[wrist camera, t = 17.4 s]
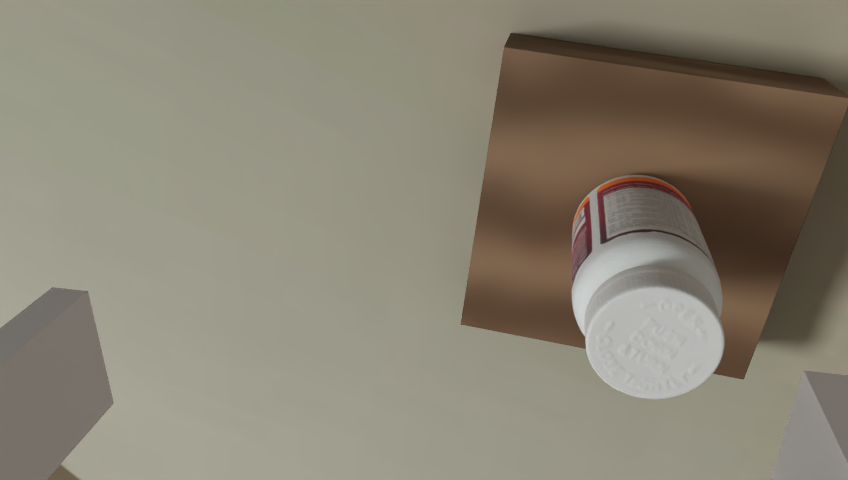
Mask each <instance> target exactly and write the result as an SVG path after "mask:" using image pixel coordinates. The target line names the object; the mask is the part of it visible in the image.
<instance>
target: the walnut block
mask: <svg viewBox="0 0 848 480" xmlns="http://www.w3.org/2000/svg"><path fill="white" fill-rule="evenodd" d="M847 107H848V96H847V95H845V94H844V93H842V92H841V91H840V90H838V89H837V88H836V87H834V86H833V85H831V84H830V83H829V82H827V81H826V80H825V79H821V78H814V77H807V76H800V75H794V74H787V73H780V72H773V71H766V70H759V69H752V68H745V67H739V66H732V65H725V64H718V63H711V62H704V61H697V60H691V59H684V58H677V57H670V56H663V55H656V54H649V53H643V52H636V51H629V50H622V49H615V48H608V47H601V46H594V45H588V44H581V43H574V42H567V41H560V40H553V39H546V38H540V37H533V36H526V35H519V34H512V33H510V36H509V38H508V40H507V42H506V44H505V47H504V51H503V58H502V64H501V71H500V77H499V83H498V90H497V96H496V102H495V109H494V115H493V122H492V128H491V134H490V141H489V147H488V154H487V160H486V166H485V173H484V179H483V185H482V192H481V198H480V205H479V211H478V217H477V224H476V230H475V237H474V243H473V249H472V256H471V262H470V268H469V275H468V281H467V288H466V294H465V300H464V307H463V313H462V319H461V324H462V325H467V326H472V327H477V328H482V329H488V330H493V331H498V332H503V333H508V334H513V335H518V336H523V337H529V338H534V339H539V340H544V341H549V342H554V343H559V344H564V345H570V346H575V347H580V348H585V349H586V343H585V336H584V335H583V333H582V332H581V330H580V328H579V326H578V324H577V321H576V318H575V316H574V311H573V305H572V297H571V290H572V228H573V221H574V217H575V214H576V212H577V210H578V208H579V206H580V204H581V203H582V201H583V200H584V199H585V197H586V196H587V195H588V194H589V193H590V192H591V191H592V190H594V189H595V188H596V187H598V186H599V185H601V184H603V183H605V182H607V181H609V180H611V179H614V178H617V177H621V176H626V175H645V176H651V177H655V178H658V179H660V180H663V181H665V182H667V183H669V184H670V185H672V186H673V187H675V188H676V189H677V190H678V191H679V192H680V193H681V194H682V195H683V196H684V197H685V198H686V200H687V201H688V203H689V204H690V206H691V208H692V210H693V212H694V215H695V217H696V220H697V222H698V225H699V227H700V230H701V232H702V235H703V237H704V239H705V242H706V244H707V246H708V249H709V251H710V254H711V256H712V259H713V262H714V265H715V267H716V270H717V273H718V276H719V278H720V284H721V288H722V297H723V304H722V312H721V316H720V320H721V323H722V326H723V331H724V337H725V345H724V352H723V356H722V358H721V361H720V363H719V365H718V367H717V368H716V370H715V371H714V373H713V374H718V375H723V376H728V377H734V378H739V379H744V377H745V375H746V372H747V369H748V367H749V364H750V361H751V359H752V356H753V354H754V351H755V348H756V346H757V343H758V341H759V338H760V335H761V333H762V330H763V327H764V325H765V322H766V320H767V317H768V314H769V312H770V309H771V306H772V304H773V301H774V299H775V296H776V293H777V291H778V288H779V286H780V283H781V280H782V278H783V275H784V272H785V270H786V267H787V265H788V262H789V259H790V257H791V254H792V251H793V249H794V246H795V244H796V241H797V238H798V236H799V233H800V231H801V228H802V225H803V223H804V220H805V217H806V215H807V212H808V210H809V207H810V204H811V202H812V199H813V196H814V194H815V191H816V189H817V186H818V183H819V181H820V178H821V176H822V173H823V170H824V168H825V165H826V162H827V160H828V157H829V155H830V152H831V149H832V147H833V144H834V141H835V139H836V136H837V134H838V131H839V128H840V126H841V123H842V121H843V118H844V115H845V113H846V110H847Z"/></svg>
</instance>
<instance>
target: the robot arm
mask: <svg viewBox="0 0 848 480" xmlns="http://www.w3.org/2000/svg"><path fill="white" fill-rule="evenodd" d="M113 403H114V402H113V398H112V394H111V389H110V385H109V381H108V376H107V372H106V368H105V363H104V359H103V355H102V350H101V346H100V342H99V337H98V333H97V329H96V324H95V320H94V316H93V311H92V307H91V303H90V298H89V294H88V291H81V290H71V289H62V288H53V287H52V288H51V289H50V290H49V291H47V292H46V293H45V294H43V295H42V296H41V297H40V298H38V299H37V300H36V301H35V302H33V303H32V304H31V305H29V306H28V307H27V308H26V309H24V310H23V311H22V312H21V313H19V314H18V315H17V316H15V317H14V318H13V319H12V320H10V321H9V322H8V323H6V324H5V325H4V326H3V327H1V328H0V480H47V478H49V476H50V475H51V474H52V473H53V472H54V471H55V470H56V468H57V467H58V466H59V465H60V464H61V463H62V462H63V460H64V459H65V458H66V457H67V456H68V455H69V454H70V452H71V451H72V450H73V449H74V448H75V447H76V446H77V444H78V443H79V442H80V441H81V440H82V439H83V438H84V436H85V435H86V434H87V433H88V432H89V431H90V430H91V428H92V427H93V426H94V425H95V424H96V423H97V422H98V420H99V419H100V418H101V417H102V416H103V415H104V414H105V412H106V411H107V410H108V409H109V408H110V407H111V406H112V404H113ZM771 480H848V375H839V374H830V373H821V372H812V371H804V372H803V375H802V378H801V382H800V385H799V388H798V392H797V395H796V398H795V401H794V405H793V408H792V411H791V415H790V418H789V421H788V425H787V428H786V431H785V435H784V438H783V441H782V444H781V448H780V451H779V454H778V458H777V461H776V464H775V468H774V471H773V474H772V477H771Z"/></svg>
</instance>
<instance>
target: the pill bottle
mask: <svg viewBox="0 0 848 480" xmlns="http://www.w3.org/2000/svg"><path fill="white" fill-rule="evenodd" d="M571 297H572V305H573V311H574V316H575V318H576V321H577V324H578V326H579V328H580V330H581V332H582V333H583V335H584V336H585V343H586V351H587V355H588V358H589V361H590V363H591V365H592V367H593V368H594V370H595V371H596V373H597V374H598V375H599V376H600V377H601V378H602V379H603V380H604V381H605V382H606V383H608V384H609V385H610V386H612V387H613V388H615V389H617V390H619V391H621V392H623V393H625V394H628V395H631V396H635V397H639V398H646V399H663V398H670V397H675V396H679V395H682V394H684V393H687V392H689V391H691V390H693V389H695V388H697V387H698V386H700V385H701V384H703V383H704V382H705V381H706V380H707V379H708V378H709V377H710V376H711V375H712V374H713V373H714V371H715V370H716V368H717V367H718V365H719V363H720V361H721V358H722V356H723V352H724V345H725V337H724V331H723V326H722V323H721V320H720V316H721V312H722V304H723V297H722V288H721V284H720V278H719V276H718V273H717V270H716V267H715V265H714V262H713V259H712V256H711V254H710V251H709V249H708V246H707V244H706V242H705V239H704V237H703V235H702V232H701V230H700V227H699V225H698V222H697V220H696V217H695V215H694V212H693V210H692V208H691V206H690V204H689V203H688V201H687V200H686V198H685V197H684V196H683V195H682V194H681V193H680V192H679V191H678V190H677V189H676V188H675V187H673V186H672V185H670V184H669V183H667V182H665V181H663V180H660V179H658V178H655V177H651V176H645V175H626V176H621V177H617V178H614V179H611V180H609V181H607V182H605V183H603V184H601V185H599V186H598V187H596V188H595V189H594V190H592V191H591V192H590V193H589V194H588V195H587V196H586V197H585V199H584V200H583V201H582V203H581V204H580V206H579V208H578V210H577V212H576V214H575V217H574V221H573V228H572V290H571Z"/></svg>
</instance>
